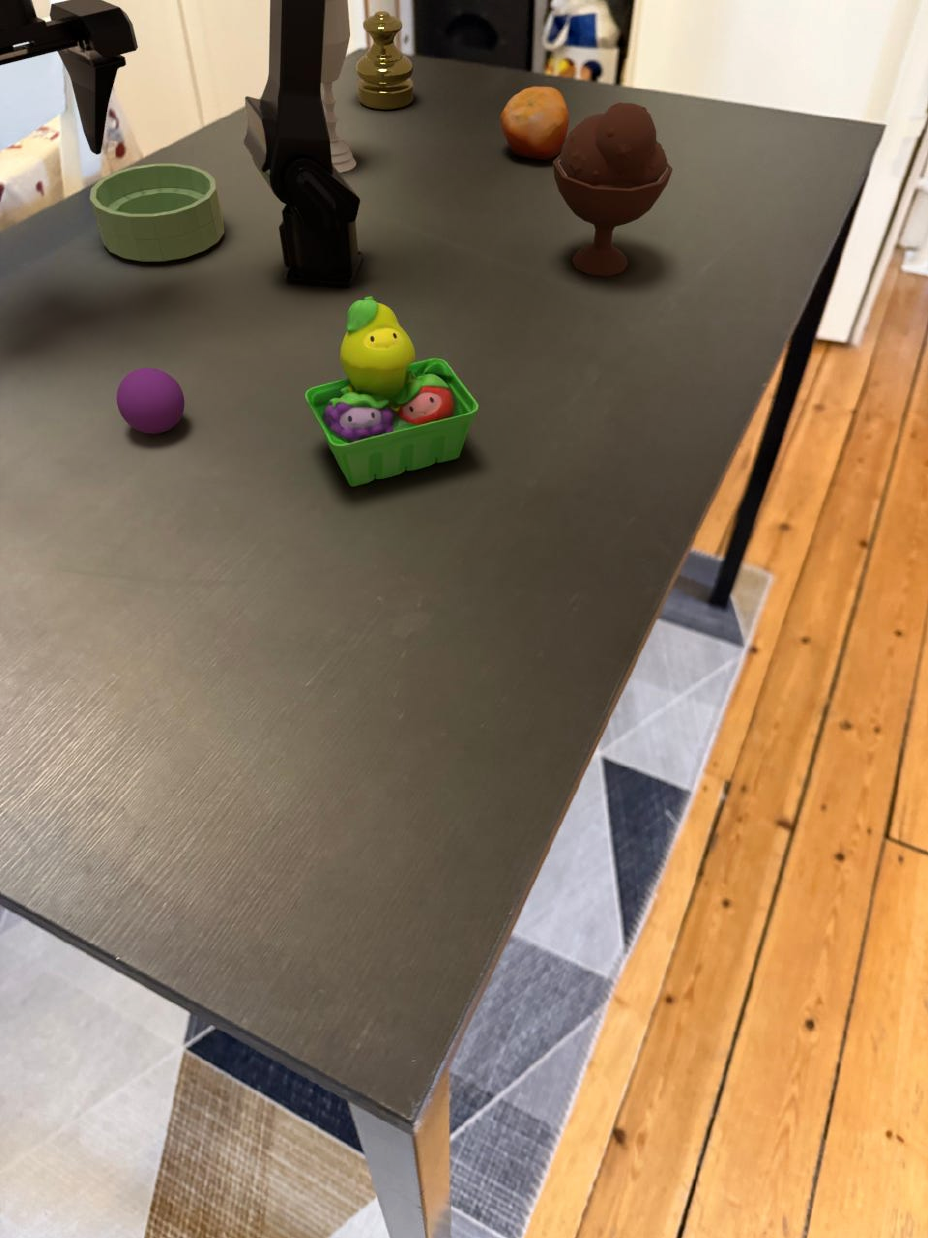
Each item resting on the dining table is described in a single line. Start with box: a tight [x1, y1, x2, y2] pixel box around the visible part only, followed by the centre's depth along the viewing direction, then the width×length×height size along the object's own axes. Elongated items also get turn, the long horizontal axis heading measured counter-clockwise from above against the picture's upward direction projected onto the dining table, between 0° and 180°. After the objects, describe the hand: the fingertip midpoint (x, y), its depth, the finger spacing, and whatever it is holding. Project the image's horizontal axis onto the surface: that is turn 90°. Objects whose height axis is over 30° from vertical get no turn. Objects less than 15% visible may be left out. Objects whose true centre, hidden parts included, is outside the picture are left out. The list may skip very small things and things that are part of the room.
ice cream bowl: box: [552, 102, 674, 277], centre depth 84 cm, size 11×11×15 cm
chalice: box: [321, 0, 357, 174], centre depth 98 cm, size 7×7×18 cm
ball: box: [116, 367, 185, 434], centre depth 69 cm, size 5×5×5 cm
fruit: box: [499, 85, 570, 161], centre depth 106 cm, size 8×8×8 cm
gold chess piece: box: [355, 10, 414, 111], centre depth 115 cm, size 7×8×10 cm
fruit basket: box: [304, 295, 479, 487], centre depth 65 cm, size 11×9×11 cm
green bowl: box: [89, 163, 225, 262], centre depth 90 cm, size 12×12×5 cm
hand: (45, 168), depth 72 cm, fingers open, 9 cm apart
